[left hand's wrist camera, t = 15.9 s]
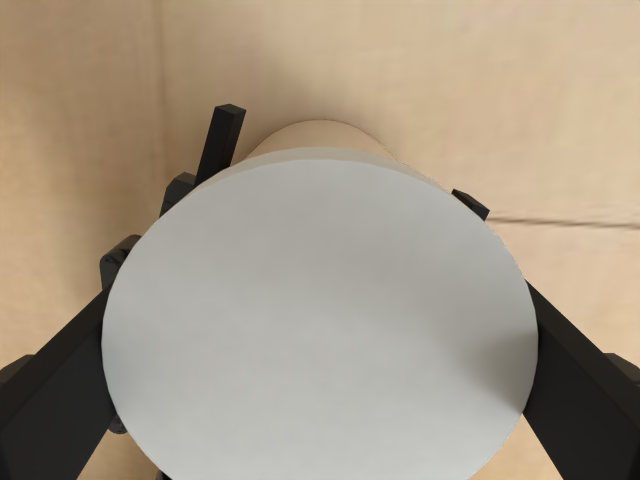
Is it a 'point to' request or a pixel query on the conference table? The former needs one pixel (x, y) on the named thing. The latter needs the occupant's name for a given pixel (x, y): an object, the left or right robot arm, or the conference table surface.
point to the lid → (319, 327)
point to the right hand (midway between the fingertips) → (355, 155)
